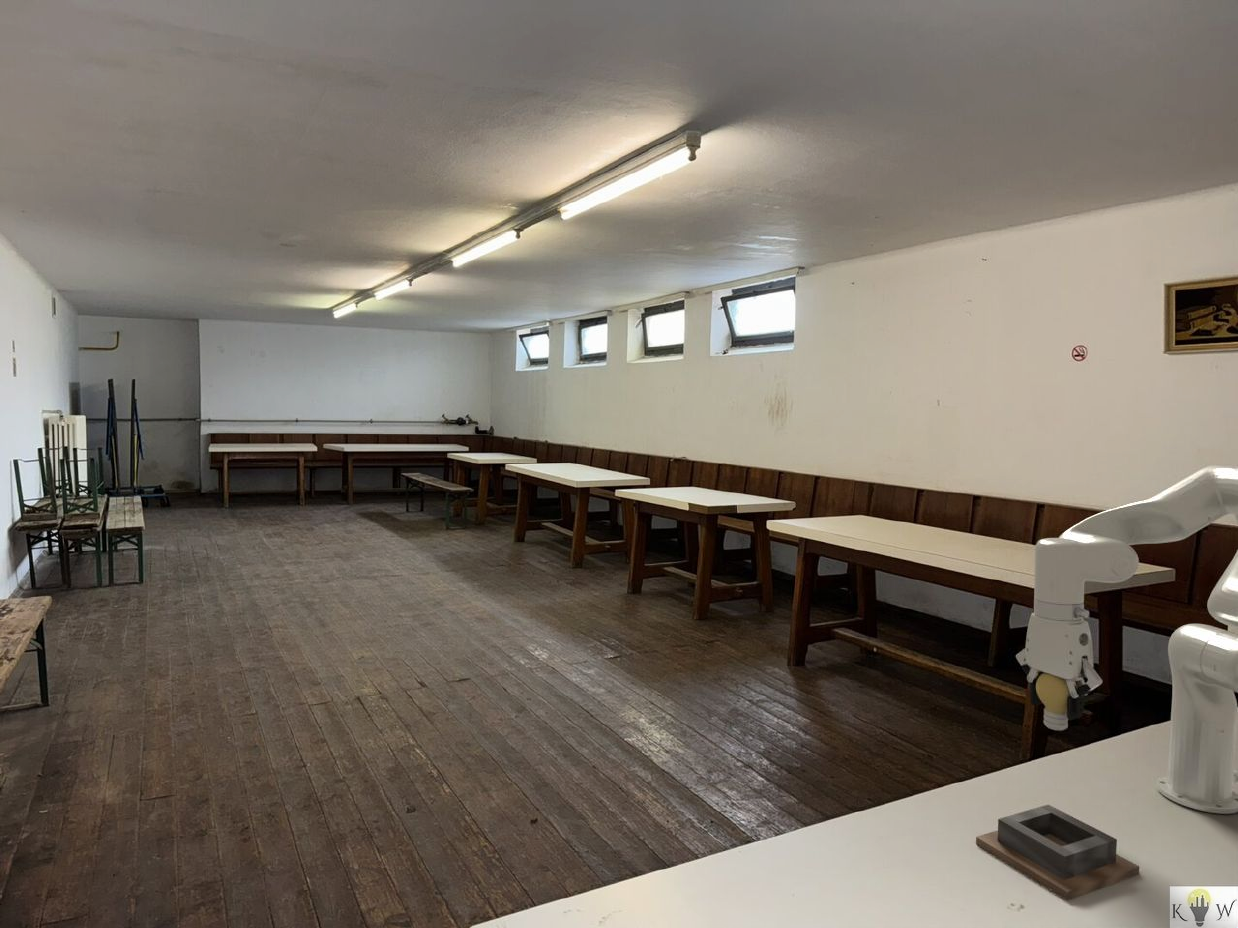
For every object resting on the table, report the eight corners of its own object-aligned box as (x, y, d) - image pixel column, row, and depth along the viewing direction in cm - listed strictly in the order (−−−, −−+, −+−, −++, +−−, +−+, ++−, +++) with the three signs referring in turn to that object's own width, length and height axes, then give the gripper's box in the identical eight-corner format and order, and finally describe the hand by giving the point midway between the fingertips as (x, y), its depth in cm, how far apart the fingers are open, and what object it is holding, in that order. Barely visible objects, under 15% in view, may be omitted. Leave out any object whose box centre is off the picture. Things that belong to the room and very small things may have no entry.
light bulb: (1082, 736, 134) (1084, 679, 133) (1041, 733, 135) (1043, 677, 135) (1068, 721, 140) (1070, 666, 140) (1030, 719, 142) (1031, 665, 141)
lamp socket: (1044, 822, 134) (1045, 795, 134) (1139, 873, 120) (1140, 843, 119) (975, 843, 128) (977, 815, 127) (1067, 899, 113) (1068, 867, 113)
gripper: (1121, 619, 130) (1118, 724, 131) (1029, 596, 146) (1027, 691, 147) (1091, 625, 127) (1088, 733, 128) (1000, 601, 143) (998, 698, 144)
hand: (1056, 709), depth 138 cm, fingers closed on light bulb, 6 cm apart
